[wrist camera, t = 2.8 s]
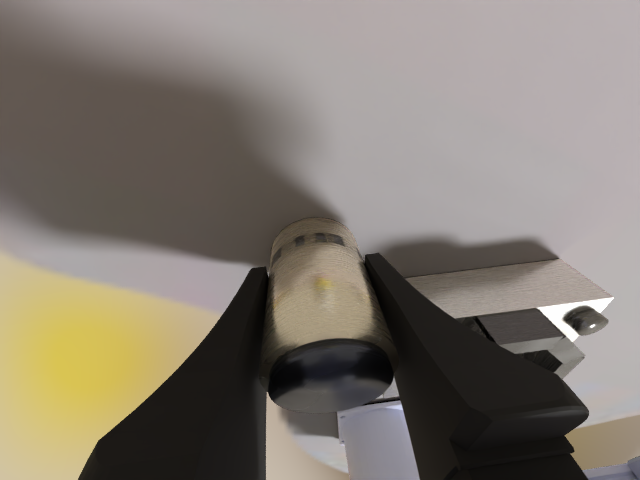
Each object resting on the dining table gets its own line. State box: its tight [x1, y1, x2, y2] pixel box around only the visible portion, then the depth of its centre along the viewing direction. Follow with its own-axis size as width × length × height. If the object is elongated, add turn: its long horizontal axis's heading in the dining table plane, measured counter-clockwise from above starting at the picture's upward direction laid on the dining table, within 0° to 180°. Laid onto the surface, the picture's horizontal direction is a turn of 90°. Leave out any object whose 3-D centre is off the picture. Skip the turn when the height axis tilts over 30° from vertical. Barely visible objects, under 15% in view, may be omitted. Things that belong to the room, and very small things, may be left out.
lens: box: [259, 218, 399, 414], centre depth 10 cm, size 4×4×6 cm
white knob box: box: [382, 259, 614, 398], centre depth 15 cm, size 8×11×4 cm
